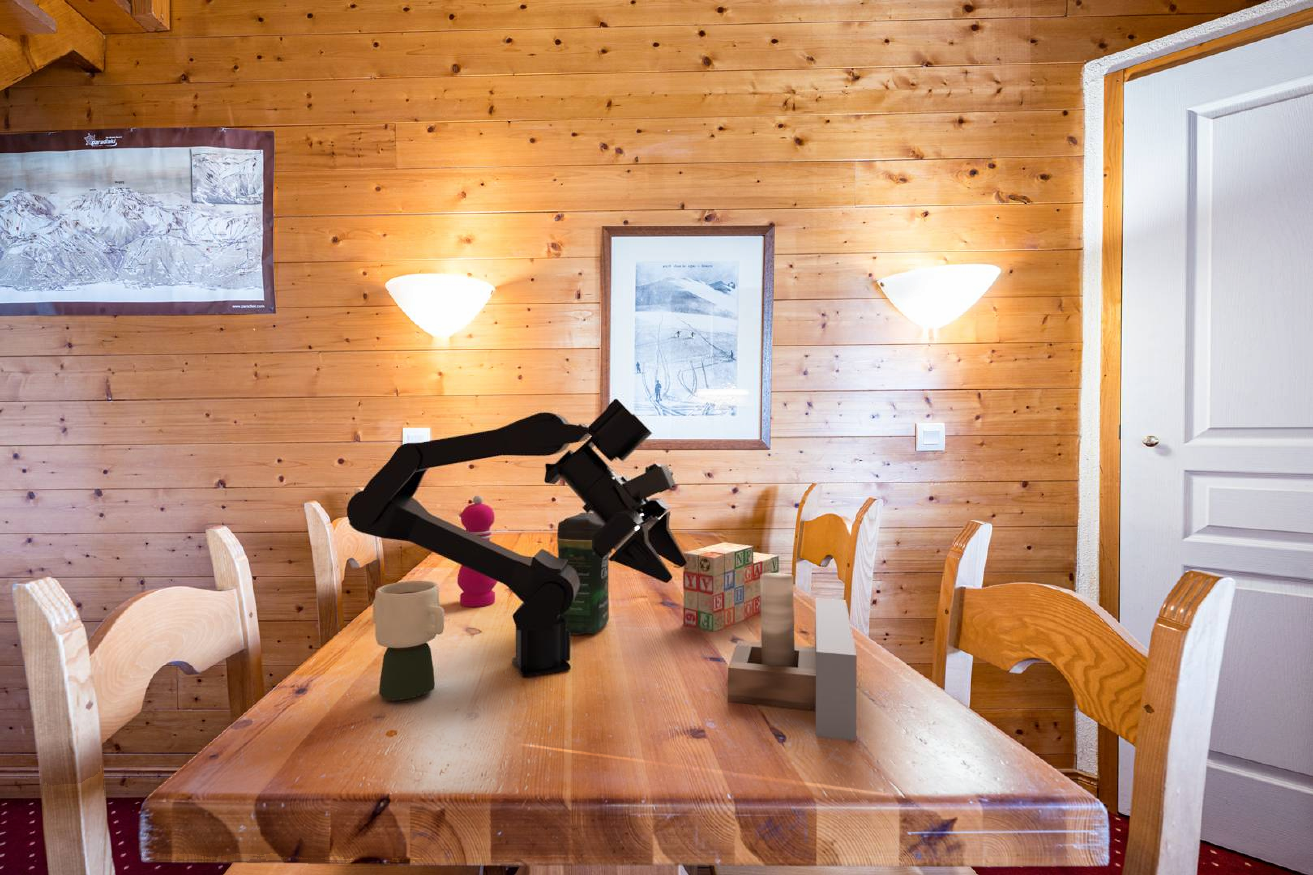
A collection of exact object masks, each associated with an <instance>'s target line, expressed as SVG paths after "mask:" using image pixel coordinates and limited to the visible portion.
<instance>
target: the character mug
mask: <svg viewBox="0 0 1313 875" xmlns="http://www.w3.org/2000/svg"><path fill="white" fill-rule="evenodd" d="M439 593H440V588H439V584H438V583H437V582H435V581H427V580H407V581H400V582H393V583H387V584H385V585H382V586H379V587H378V588H377V589H376V590H375V595H374V596H375V598H374V599H373V602H372V621H373V623H374V624H375V630H374V631H375V632H374V633H375V640H376V643H377V645H378V646H381V647H383V648H386V650H385V651H384V654H383V657H382V665H381V671H380V679H379V688H378V694H379V696H380V697H381V698H382V699H384V700H387V701H399V700H406V699H410V698H413V697H414V698H417V697H419V696H420V695H423V694H426V693H428V692H431V691H434V689H435V685H436V682H435V674H434V673H435V672H434V670H435V669H434V664H433V658H432V651H431V650H432V648H431V646H430V645H429V643H428V642H430V641H432V640H434V639H435V638H436V636H437V635H442V634H443V633H444V629H445V610H444V607H442V606H441V605H440V594H439Z"/></svg>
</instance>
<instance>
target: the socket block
mask: <svg viewBox="0 0 1313 875" xmlns="http://www.w3.org/2000/svg"><path fill="white" fill-rule="evenodd" d="M734 647H735V648H734V650H733V653H732V656H731V659H730V662H729V664H728V667H727V702H728V703H729V702H731V703H740V704H750V705H757V706H758V705H759V706H767V707H776V708H786V709H795V710H802V711H803V710H805V711H810V712H811V711H812V712H816V653H815V646H809V645H808V646H807V645H797V644H794V647H795V667H784V666H773V665H763V664H762V644H761V641H751V640H740V639H738V640H737V641H736V644H735V646H734Z"/></svg>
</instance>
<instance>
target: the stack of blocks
mask: <svg viewBox="0 0 1313 875" xmlns="http://www.w3.org/2000/svg"><path fill="white" fill-rule="evenodd" d="M683 555H684V557H685V559H686V560H687V563H686V565H684V566H683V571H682V577H683V578H682V585H683V586H682V588H683V591H682V592H683V607H682V608H683V609H682V611H683V613H682V614H683V618H682V620H683V621H682V622H683V624H682V625H685V626H688V627H693V628H696V629H701V630H704V631H709V632H716V631H719V630H721V629H724V628H727V627H730V626H732V625H735V624H737V623H739V622H742V621H744V620H745V619H748V618H750V617H752V616H754V615H757V614H759V613H761V587H760V575H761V574H765V573H780V572H779V571H780V564H779V563H780V562H779V561H780V560H779V558H780V557H779V555H776V554H770V553H762V552H754V546H753V545H749V544H747V545H746V544H739V543H730V542H720V543H717V544H713V545H712V544H711V545H708V546H706V547H702V548H697V549H693V550H689V551H685V552H683Z"/></svg>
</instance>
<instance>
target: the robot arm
mask: <svg viewBox="0 0 1313 875" xmlns="http://www.w3.org/2000/svg"><path fill="white" fill-rule="evenodd" d="M652 434H653V432H652V431H651V430H650V429H649V428H648V427H647V426H646V425H645V424H644V423H643V421H641V420H640V419H639V417H638V416H637V415H636V414H634V413H632V412H631V411H630V410H629V409H628V408H627V407H625V405H624V404H623V403H622V402H621V401H620V400H619V399H618V398H614V399H613V400H611V402H610V403H609V404H608V406H607V407H606V409H605V410H603V412H602V413H601V414H599V416H598V417H597V418H596V419H595V420H594V421H593V422H592V423H591V424H589V426H587V425H586V424H585V423H579V424H578V425H577V424H571V423H570V422H569V421H568V420H567V419H566V417H564V416H562V415H560V414H558V413H553V412H539V413H538V412H537V413H535V414H532V415H529V416H526V417H523V418H522V419H521V418H520V419H518V420H516V421H514V422H511V423H509V424H507V425H505V426H504V425H503V426H502V427H499V428H495V429H491V430H485V431H480V432H479V431H478V432H473V433H468V434H462V435H456V436H450V437H445V438H440V439H434V440H428V441H423V442H422V441H421V442H405V443H403V444H401V445H400V446H398V447H397V448H396V450H395V452H394V453H393V454H392V456H391V458H390V459H389V460H388V461H387V463H385V464H384V465H383V466H382V468H380V469H379V470H378V471H377V473H376V474H375V475H374V476H373V477H371V479H370V480H369V481H368V482H367V484H366V486H365V487H364V488H363V489H362V490H360V491H358V492H356V493H355V494H354V495H353V496H351V498H350V499H349V501H348V503H347V507H346V516H347V519H348V524H349V525H350V526H351V528H352V529H354V530H355V531H356V532H357V533H358V532H359V533H362V534H365V535H368V536H373V537H376V538H380V539H387V540H393V541H394V540H395V541H401V542H402V541H404V542H409V543H413V544H415V545H416V546H419V547H421V548H423V549H426V550H428V551H430V552H432V553H435V554H437V555H439V556H441V557H443V558H445V559H448V560H450V561H452V562H455V563H457V564H459V565H463V566H465V567H467V568H469V569H472V570H474V571H476V572H478V573H481V574H483V575H485V576H487V577H489V578H492V579H494V580H496V581H497V583H500V584H503V585H505V586H506V587H507V588H508V589H509V590H510V591H511V592H512V593H513V594H514V595H515V596H516V597H517V598H518V599H519V600H520V601H521V602H522V603H521V604H520V606H518V607H517V609H516V610H515V611H514V613H513V614H512V619H513V622H514V624H515V657H513V658H511V662H512V664H513V666H514V667H515V668H516V669H517V671H518V673H519V674H520V675H521V676H522V678H529V677H533V676H541V675H547V674H552V673H559V672H566V671H570V670H571V664H570V663H569V661H570V660H571V634H570V631H569V630H568V629H567V621H566V620H565V619H564V618H563V617H562V616H561V615H560V614H563V613H564V612H566V611H567V610H568V609H569V607H570V606H571V604H572V603H573V601H574V599H575V597H576V595H577V593H578V590H579V587H580V582H579V577H578V575H577V572H576V571H575V569H574V568H572V567H571V566H570V565H567V564H566V563H567V562H568V559H561V558H558V556H555V555H553V554H552V553H550V552H549V551H548V550H545V549H543V548H541V549H540V550H539V551H538V552H537V553H535V555H534V556H526V555H522V554H519V553H517V552H516V551H512V550H511V549H508V548H506V547H504V546H502V545H499V544H497V543H495V542H493V541H491V540H490V539H489V540H486V539H484V538H482V537H480V536H478V535H475V534H473V533H471V532H469V531H466V529H465V528H462V527H460V526H457V525H455V524H453V523H451V522H449V521H446V520H444V519H442V518H441V517H437V516H436V515H433V514H432V513H430V512H429V511H427V509H426V508H425V507H424V506H423V505H422V504H421V503H420V502H419V501H418V500H417V499H415V498H414V497H413V496H415V494H416V492H417V491H418V489H419V487H420V484H421V482H422V480H423V478H424V475H425V474H426V473H427V471H428V470H429V469H432V468H436V467H437V468H438V467H445V466H448V465H454V464H460V463H466V462H473V461H478V460H483V459H488V458H489V459H490V458H495V457H500V456H521V457H525V456H526V457H548V456H553V455H557V454H560V453H563V452H564V451H566V450H567V449H568V447H569V446H570V444H576V443H580V442H581V443H582V442H584V443H583V444H582V445H581V446H580V447H579V448H577V449H576V450H575V451H573V450H571V449H569V450H568V451H566V452H565V453H564V454H563V455H562V456H561V457H560V458H559V459H558V460H557V461H556V462H555V463H545V464H544V467H545V474H544V483H545V484H548V485H556V484H557V483H558V482H559V481H560V480H561V479H562V481H564V482H565V483H566V484H567V485H568V486H569V488H571V489H572V491H573V492H574V493H575V494H576V496H577V497H579V499H580V500H581V501H582V502H583V503H584V505H583V506H582V509H583V510H584V511H585V513H594V514H595V515H596V516H597V517H598V518H599V519H600V520H601V522H602V523H603V524H604V526H603V527H602V528H601V529H600V530H599V531H598V532H597V533H596V534H595V535H594V536H593V537H592V549H593V550H594V551H595V552H596V553H597V554H598V555H599V556H600V558H601V559H604V558H605V557H607V556H609V559H608V560H609V561H610V562H615V563H617V564H620V565H622V566H625V567H628V568H630V569H632V570H635V571H637V572H640V573H642V574H645V575H647V576H649V577H651V578H654V579H656V580H658V581H661V582H663V583H665V584H669V582H670V581H671V580H673V574H672V573H671V572H670V571H669V568H668V567H667V565H666V564H665V562H664V561H663V560H662V558H664V559H665V560H666V561H669V562H671V563H672V564H674V565H675V566H678V567H679V568H684V565H686V563H687V560H686V559H685V557H684V552H683V551H682V549H681V548H680V546H679V544H678V542H677V540H676V538H675V537H674V534H673V532H672V531H671V529H670V517H671V511H670V508H671V507H670V505H669V504H668V503H667V502H666V501H665V500H664V499H663V498H662V497H651V496H654V495H656V494H658V493H660V494H661V493H663V492H666V491H667V490H671V489H673V488H675V487H677V484H676V482H675V479H674V478H673V475H674V472H673V470H671V469H669V465H668V464H664V465H661V463H658V462H654V463H653V464H651V465H648V466H646V467H645V469H644V470H645V472H644V473H642V474H639V475H638V476H635V477H633V478H631V479H630V478H629V477H628V476H626V475H623V474H622V475H618V474H617V473H616V472H615V471H614V470H613V468H611V467H610V466H609V465H608V464H607V463H606V462H605V460H603V459H602V457H601V456H600V455H599V454H598V453H597V452H596V451H595V450H594V449H593V448H594V447H596V449H598V451H599V452H600V453H601V454H602V455H603V456H604V457H605V458H606V459H607V460H609V461H610V462H613V461H615V459H618V460H620V461H621V462H624V461H625V460H626V459H628V457H629V456H630V455H632V453H633V452H634V451H635V450H637V448H639V447H640V445H642V444H643V443H644V441H647V439H648V438H649V437H650V436H651V435H652ZM649 497H651V498H649ZM613 550H614V553H613ZM610 554H611V556H610ZM661 557H662V558H661Z"/></svg>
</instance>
